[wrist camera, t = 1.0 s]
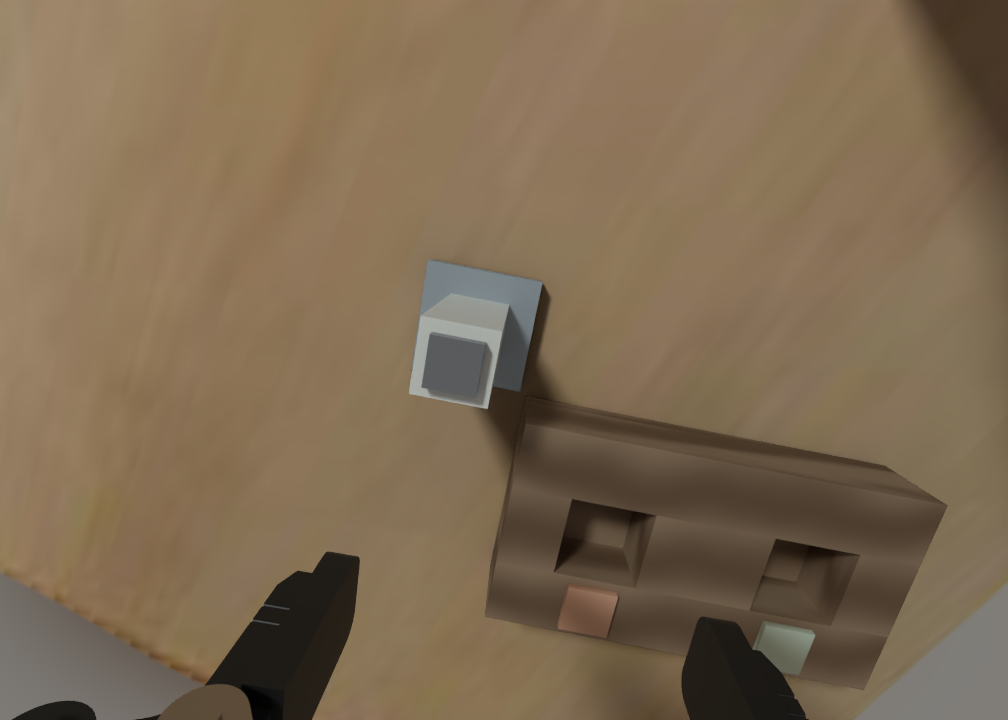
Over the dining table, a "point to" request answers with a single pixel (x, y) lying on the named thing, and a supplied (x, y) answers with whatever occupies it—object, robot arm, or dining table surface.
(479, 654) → the dining table surface
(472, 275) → the thin square blue plate
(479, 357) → the plug
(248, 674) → the robot arm
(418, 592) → the dining table surface
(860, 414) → the dining table surface
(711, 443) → the socket block
